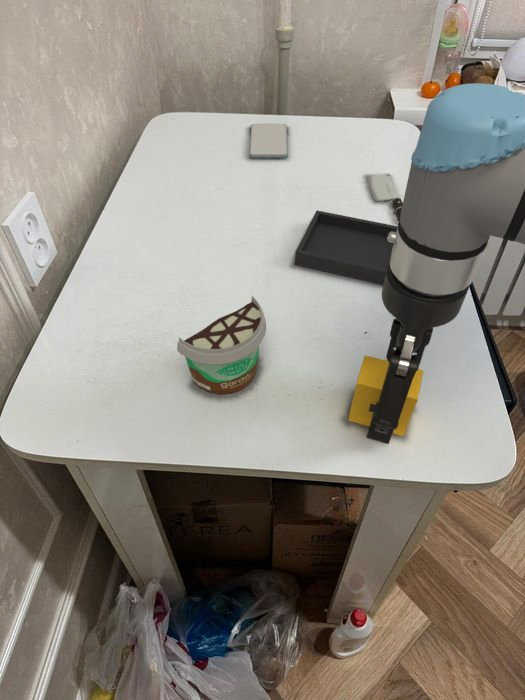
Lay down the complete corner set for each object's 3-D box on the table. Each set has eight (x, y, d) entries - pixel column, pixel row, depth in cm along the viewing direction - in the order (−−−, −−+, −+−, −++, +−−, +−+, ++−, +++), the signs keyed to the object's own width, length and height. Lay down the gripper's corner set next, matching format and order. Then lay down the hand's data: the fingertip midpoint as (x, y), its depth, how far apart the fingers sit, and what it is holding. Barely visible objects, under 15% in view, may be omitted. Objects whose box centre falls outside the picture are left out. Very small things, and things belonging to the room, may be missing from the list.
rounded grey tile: (286, 123, 116) (288, 154, 106) (286, 127, 116) (288, 159, 106) (250, 123, 116) (248, 154, 106) (250, 127, 116) (248, 159, 106)
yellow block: (409, 408, 65) (423, 369, 59) (403, 436, 62) (417, 399, 56) (355, 393, 66) (364, 354, 60) (348, 420, 64) (356, 382, 58)
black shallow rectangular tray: (412, 243, 87) (415, 229, 85) (399, 289, 80) (403, 275, 78) (315, 223, 91) (316, 210, 89) (294, 265, 84) (295, 251, 82)
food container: (211, 419, 64) (204, 370, 56) (185, 389, 67) (174, 339, 59) (284, 370, 69) (286, 320, 61) (256, 344, 72) (255, 293, 65)
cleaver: (366, 174, 101) (391, 170, 101) (366, 180, 102) (391, 176, 102) (381, 222, 90) (409, 217, 90) (381, 228, 91) (409, 224, 91)
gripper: (406, 204, 53) (372, 346, 70) (364, 339, 40) (335, 471, 58) (480, 218, 51) (426, 359, 69) (459, 363, 39) (400, 492, 56)
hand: (384, 410), depth 63 cm, fingers open, 8 cm apart
